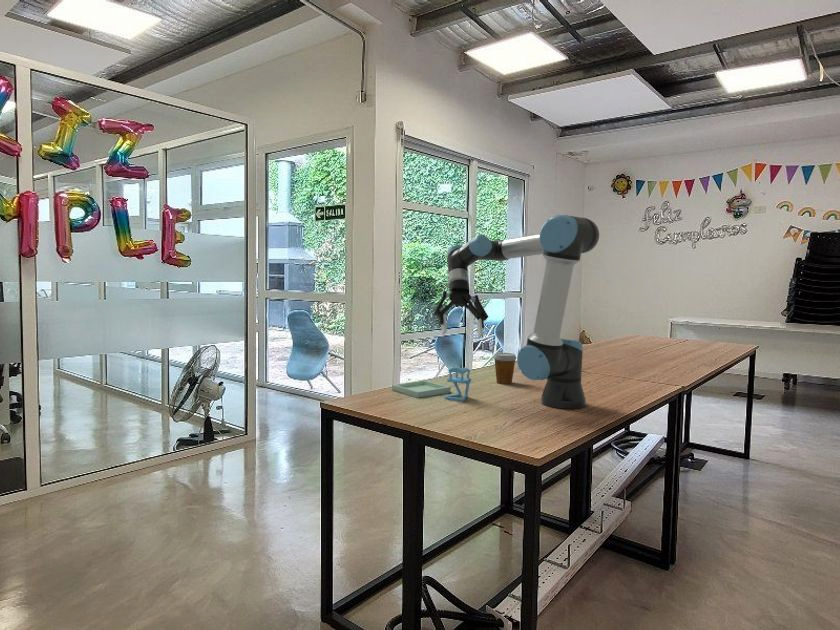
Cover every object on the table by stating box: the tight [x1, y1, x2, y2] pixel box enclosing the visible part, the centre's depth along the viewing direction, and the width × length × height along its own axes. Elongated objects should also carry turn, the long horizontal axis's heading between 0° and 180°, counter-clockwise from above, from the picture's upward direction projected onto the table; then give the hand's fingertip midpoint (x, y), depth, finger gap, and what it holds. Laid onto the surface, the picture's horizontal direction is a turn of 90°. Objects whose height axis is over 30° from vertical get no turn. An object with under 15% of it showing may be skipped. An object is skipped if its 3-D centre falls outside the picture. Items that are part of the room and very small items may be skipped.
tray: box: [391, 379, 452, 399], centre depth 212 cm, size 16×16×2 cm
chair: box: [444, 365, 472, 402], centre depth 201 cm, size 8×8×12 cm
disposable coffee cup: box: [492, 352, 517, 385], centre depth 231 cm, size 10×10×12 cm
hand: (462, 334), depth 197 cm, fingers open, 13 cm apart
